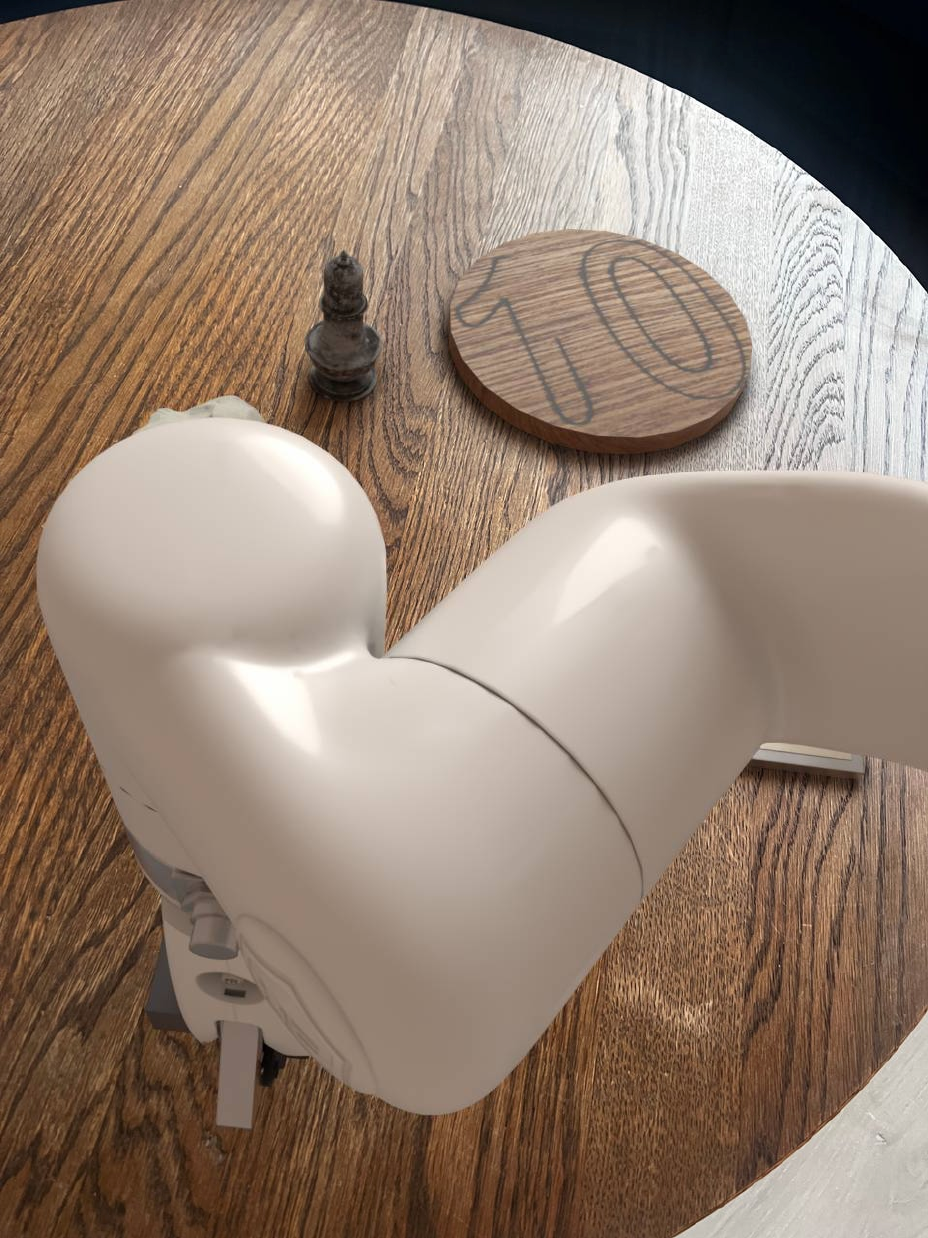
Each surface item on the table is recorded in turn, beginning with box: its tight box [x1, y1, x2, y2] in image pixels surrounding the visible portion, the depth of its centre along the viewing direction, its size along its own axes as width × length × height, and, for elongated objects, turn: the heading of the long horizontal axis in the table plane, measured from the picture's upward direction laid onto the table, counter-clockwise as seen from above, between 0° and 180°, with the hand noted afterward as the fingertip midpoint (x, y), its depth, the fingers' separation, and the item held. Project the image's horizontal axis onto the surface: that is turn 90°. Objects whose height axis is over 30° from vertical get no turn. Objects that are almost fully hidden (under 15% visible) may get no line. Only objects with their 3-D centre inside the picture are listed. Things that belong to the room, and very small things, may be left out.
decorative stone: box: [131, 394, 266, 436], centre depth 79 cm, size 11×9×10 cm
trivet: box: [447, 228, 753, 455], centre depth 93 cm, size 25×25×2 cm
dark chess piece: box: [304, 250, 383, 403], centre depth 84 cm, size 6×6×12 cm
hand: (283, 977), depth 48 cm, fingers closed on eraser, 5 cm apart
